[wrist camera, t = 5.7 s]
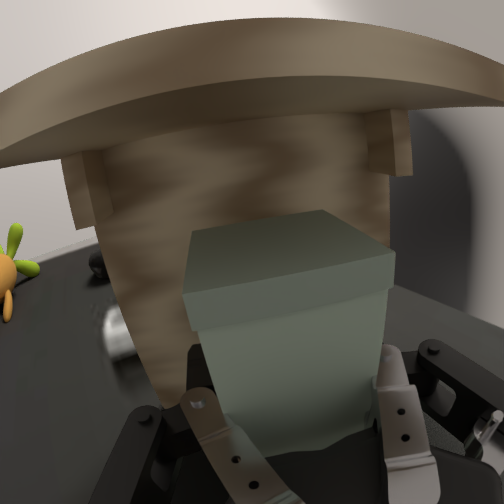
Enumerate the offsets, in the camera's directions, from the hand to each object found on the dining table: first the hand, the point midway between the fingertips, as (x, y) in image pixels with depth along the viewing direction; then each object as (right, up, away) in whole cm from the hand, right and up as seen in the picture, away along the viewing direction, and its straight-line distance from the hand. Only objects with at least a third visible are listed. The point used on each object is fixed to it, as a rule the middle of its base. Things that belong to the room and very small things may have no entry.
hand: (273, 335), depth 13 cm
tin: (+1, -7, 0) cm, 7 cm away
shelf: (+1, -6, +1) cm, 7 cm away
